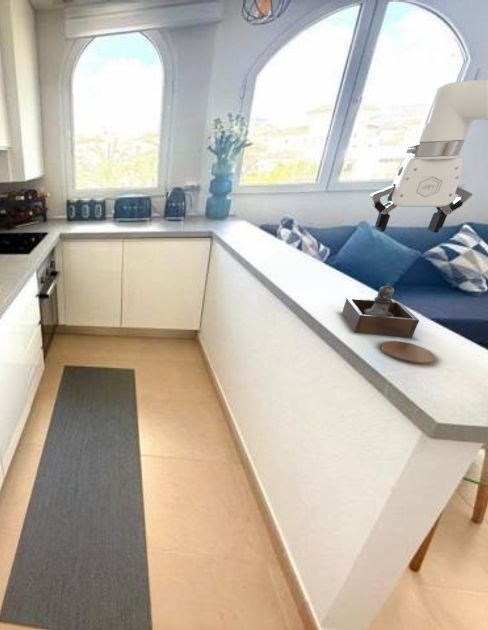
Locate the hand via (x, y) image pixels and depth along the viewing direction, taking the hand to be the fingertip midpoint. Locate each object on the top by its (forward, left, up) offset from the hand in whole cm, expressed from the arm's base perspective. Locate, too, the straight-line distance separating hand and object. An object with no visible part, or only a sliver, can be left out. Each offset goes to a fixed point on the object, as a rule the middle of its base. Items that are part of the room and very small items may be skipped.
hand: (405, 230), depth 81 cm
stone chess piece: (-1, 0, -25) cm, 25 cm away
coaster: (-3, +14, -25) cm, 29 cm away
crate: (-1, 0, -25) cm, 25 cm away
